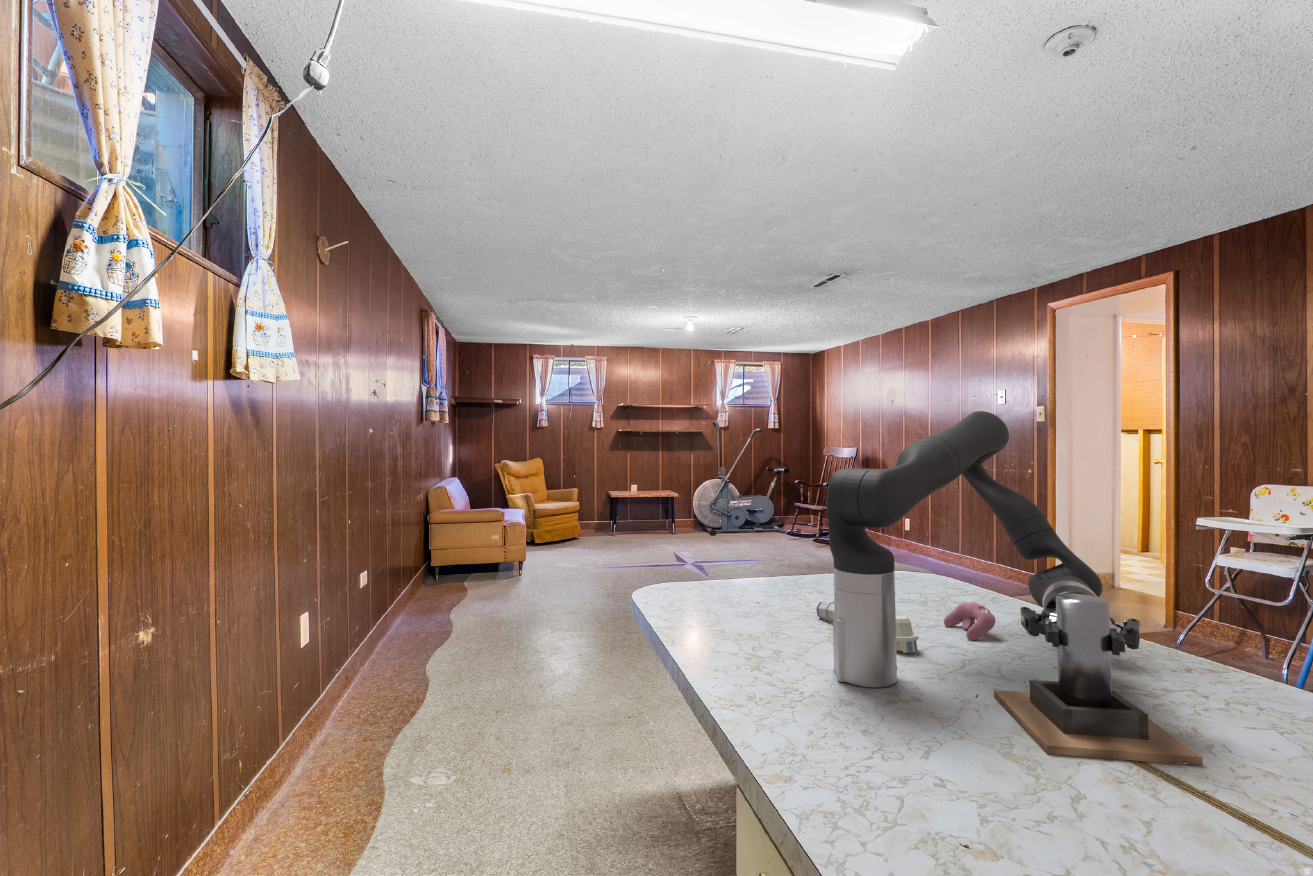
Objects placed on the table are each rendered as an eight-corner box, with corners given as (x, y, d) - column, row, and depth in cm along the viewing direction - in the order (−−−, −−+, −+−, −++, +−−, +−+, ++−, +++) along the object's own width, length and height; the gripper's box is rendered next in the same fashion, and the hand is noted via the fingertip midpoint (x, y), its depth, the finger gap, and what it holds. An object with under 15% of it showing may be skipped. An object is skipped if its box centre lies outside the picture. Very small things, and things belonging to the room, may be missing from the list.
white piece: (832, 598, 126) (921, 612, 103) (835, 630, 125) (926, 650, 102) (812, 601, 124) (899, 615, 101) (815, 633, 123) (903, 654, 100)
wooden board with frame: (1046, 753, 68) (1045, 719, 68) (993, 697, 84) (993, 669, 84) (1202, 765, 65) (1201, 730, 65) (1117, 704, 81) (1116, 675, 81)
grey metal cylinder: (1072, 699, 73) (1069, 604, 73) (1050, 681, 78) (1047, 593, 78) (1122, 702, 72) (1119, 605, 72) (1096, 683, 77) (1093, 594, 77)
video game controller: (988, 649, 108) (1004, 615, 109) (967, 638, 108) (982, 605, 109) (959, 632, 118) (974, 602, 119) (940, 623, 118) (954, 592, 118)
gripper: (1016, 579, 91) (1017, 606, 77) (1132, 590, 84) (1158, 621, 69) (1017, 627, 91) (1019, 663, 77) (1134, 642, 84) (1160, 684, 69)
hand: (1085, 643), depth 73 cm, fingers closed on grey metal cylinder, 5 cm apart
